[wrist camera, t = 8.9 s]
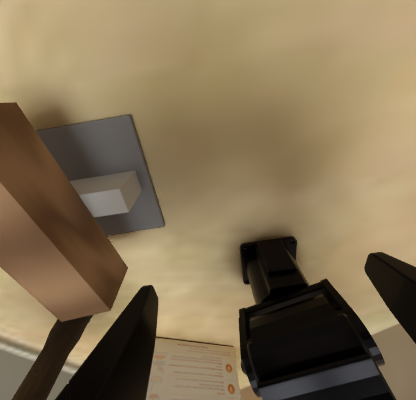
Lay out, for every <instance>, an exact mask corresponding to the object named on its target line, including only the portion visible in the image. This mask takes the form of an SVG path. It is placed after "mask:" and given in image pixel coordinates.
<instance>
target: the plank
mask: <svg viewBox="0 0 416 400" xmlns="http://www.w3.org/2000/svg"><path fill="white" fill-rule="evenodd" d="M0 267H1V268H2V269H3V270H4V271H6V272H7V273H8V274H9V275H10V276H11V277H12V278H13V279H14V280H16V281H17V282H18V283H19V284H20V285H21V286H22V287H23V288H24V289H26V290H27V291H28V292H29V293H30V294H31V295H32V296H33V297H34V298H36V299H37V300H38V301H39V302H40V303H41V304H42V305H43V306H44V307H46V308H47V309H48V310H49V311H50V312H51V313H52V314H53V315H54V316H56V317H57V318H58V319H59V320H60V321H61V322H63V321H67V320H72V319H76V318H80V317H85V316H89V315H93V314H98V313H102V312H106V311H111V308H112V306H113V303H114V301H115V299H116V296H117V294H118V291H119V289H120V286H121V284H122V281H123V279H124V276H125V274H126V272H127V269H128V267H127V266H126V264H125V263H124V261H123V260H122V258H121V257H120V255H119V254H118V252H117V251H116V249H115V248H114V247H113V245H112V244H111V242H110V241H109V239H108V238H107V236H106V235H105V233H104V232H103V230H102V229H101V227H100V226H99V224H98V223H97V221H96V220H95V218H94V217H93V215H92V214H91V213H90V211H89V210H88V208H87V207H86V205H85V204H84V202H83V201H82V199H81V198H80V196H79V195H78V193H77V192H76V190H75V189H74V187H73V186H72V184H71V183H70V181H69V180H68V178H67V177H66V176H65V174H64V173H63V171H62V170H61V168H60V167H59V165H58V164H57V162H56V161H55V159H54V158H53V156H52V155H51V153H50V152H49V150H48V149H47V147H46V146H45V144H44V143H43V141H42V140H41V139H40V137H39V136H38V134H37V133H36V131H35V130H34V128H33V127H32V125H31V124H30V122H29V121H28V119H27V118H26V116H25V115H24V113H23V112H22V110H21V109H20V107H19V106H18V105H17V103H0Z"/></svg>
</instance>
